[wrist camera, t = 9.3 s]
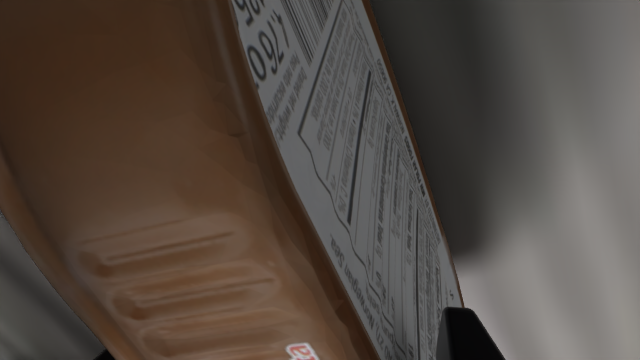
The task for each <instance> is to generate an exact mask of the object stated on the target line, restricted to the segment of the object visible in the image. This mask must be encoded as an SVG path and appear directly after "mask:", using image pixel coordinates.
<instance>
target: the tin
mask: <svg viewBox="0 0 640 360" xmlns="http://www.w3.org/2000/svg"><path fill="white" fill-rule="evenodd" d="M0 209H1V211H2V213H3V215H4V216H5V218H6V220H7V221H8V223H9V224H10V226H11V227H12V229H13V230H14V232H15V233H16V235H17V237H18V238H19V240H20V242H21V244H22V245H23V247H24V249H25V250H26V252H27V253H28V254H29V256H30V257H31V258H32V260H33V261H34V262H35V264H36V265H37V267H38V268H39V269H40V271H41V272H42V273H43V275H44V276H45V277H46V278H47V280H48V281H49V282H50V284H51V285H52V286H53V287H54V289H55V290H56V291H57V292H58V294H59V295H60V296H61V297H62V298H63V300H64V301H65V302H66V303H67V304H68V306H69V307H70V308H71V309H72V311H73V312H74V313H75V314H76V315H77V316H78V317H79V318H80V319H81V320H82V321H83V322H84V323H85V324H86V325H87V326H88V328H89V329H90V330H91V331H92V332H93V334H94V335H95V336H96V337H97V338H98V339H99V341H100V342H101V343H102V344H103V345H104V347H105V348H106V349H107V350H108V351H109V353H110V354H111V355H112V356H113V357H114V359H115V360H436V346H437V339H438V333H439V327H440V321H441V315H442V311H443V309H444V308H445V307H448V306H449V307H461V308H465V307H464V303H463V298H462V294H461V290H460V286H459V281H458V278H457V274H456V270H455V267H454V263H453V260H452V256H451V253H450V249H449V246H448V242H447V239H446V236H445V233H444V230H443V227H442V224H441V221H440V218H439V214H438V211H437V208H436V205H435V201H434V198H433V195H432V191H431V188H430V185H429V182H428V179H427V176H426V173H425V169H424V166H423V163H422V159H421V156H420V152H419V149H418V146H417V142H416V139H415V136H414V133H413V130H412V127H411V124H410V121H409V118H408V114H407V111H406V108H405V105H404V102H403V99H402V96H401V93H400V90H399V87H398V84H397V81H396V78H395V75H394V72H393V69H392V66H391V63H390V60H389V57H388V54H387V51H386V48H385V45H384V42H383V39H382V36H381V34H380V31H379V28H378V25H377V22H376V19H375V16H374V13H373V10H372V7H371V4H370V1H369V0H0Z"/></svg>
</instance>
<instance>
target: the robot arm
mask: <svg viewBox="0 0 640 360" xmlns="http://www.w3.org/2000/svg"><path fill="white" fill-rule="evenodd" d="M94 360H115V359H114V357H113V356H112V355H111V354H110V353H109V351H108V350H107V349H105V350H104V351H103V352H102V353H101V354H99V355H98V356H97V357H96V358H95V359H94ZM436 360H505V358H504V357H503V355H502V353H501V352H500V350H499V349H498V347H497V346H496V344H495V343H494V341H493V340H492V338H491V337H490V335H489V333H488V332H487V330H486V329H485V327H484V326H483V324H482V323H481V321H480V320H479V318H478V317H477V315H476V314H475V312H474V311H473V310H471V309H469V308H461V307H449V306H448V307H445V308H444V309H443V311H442V315H441V321H440V327H439V333H438V339H437V346H436Z"/></svg>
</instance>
